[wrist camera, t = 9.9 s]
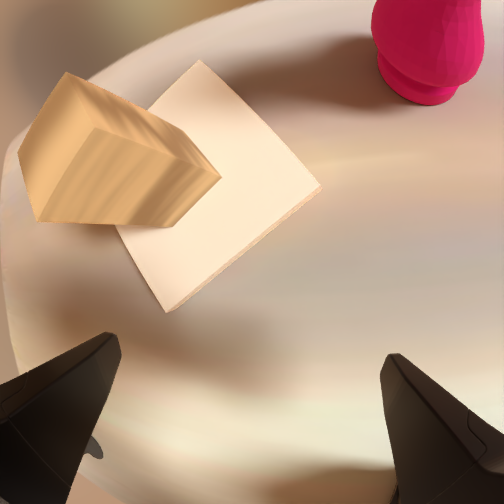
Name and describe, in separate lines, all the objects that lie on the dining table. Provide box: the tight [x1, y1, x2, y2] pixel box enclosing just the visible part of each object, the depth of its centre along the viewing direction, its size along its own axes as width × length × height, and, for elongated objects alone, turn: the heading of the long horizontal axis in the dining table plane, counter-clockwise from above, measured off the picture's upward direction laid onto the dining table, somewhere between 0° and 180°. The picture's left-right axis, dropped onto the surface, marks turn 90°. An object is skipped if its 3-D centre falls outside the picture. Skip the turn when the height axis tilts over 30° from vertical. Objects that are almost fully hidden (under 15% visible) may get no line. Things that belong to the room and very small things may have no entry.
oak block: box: [18, 72, 222, 227], centre depth 15 cm, size 5×5×11 cm
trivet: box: [114, 59, 323, 313], centre depth 21 cm, size 14×14×2 cm
